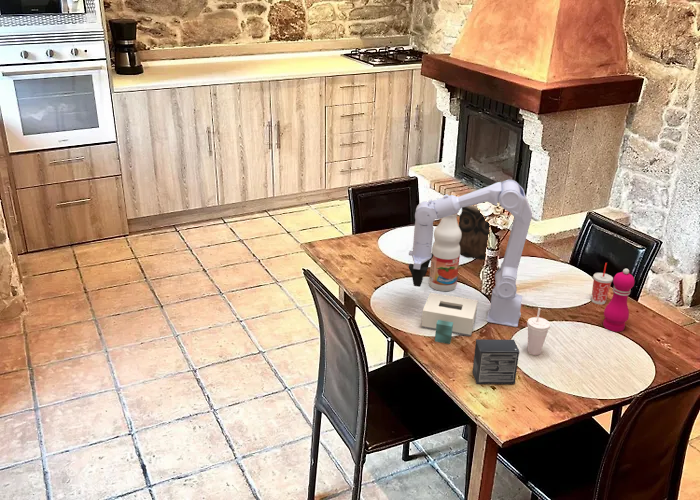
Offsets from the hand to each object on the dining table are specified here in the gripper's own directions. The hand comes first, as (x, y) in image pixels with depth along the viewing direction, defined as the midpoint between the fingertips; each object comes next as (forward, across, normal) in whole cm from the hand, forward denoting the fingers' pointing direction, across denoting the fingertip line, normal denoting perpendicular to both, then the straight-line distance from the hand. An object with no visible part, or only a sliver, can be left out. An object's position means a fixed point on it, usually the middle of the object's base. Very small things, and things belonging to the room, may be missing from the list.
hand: (419, 280), depth 212 cm
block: (+10, +16, +11) cm, 22 cm away
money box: (+10, +5, +11) cm, 16 cm away
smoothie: (+10, +13, +37) cm, 41 cm away
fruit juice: (+10, -19, +5) cm, 22 cm away
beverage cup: (+10, -26, +56) cm, 62 cm away
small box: (+10, +30, +27) cm, 42 cm away
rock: (+10, -50, +13) cm, 53 cm away
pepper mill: (+10, -10, +60) cm, 62 cm away
